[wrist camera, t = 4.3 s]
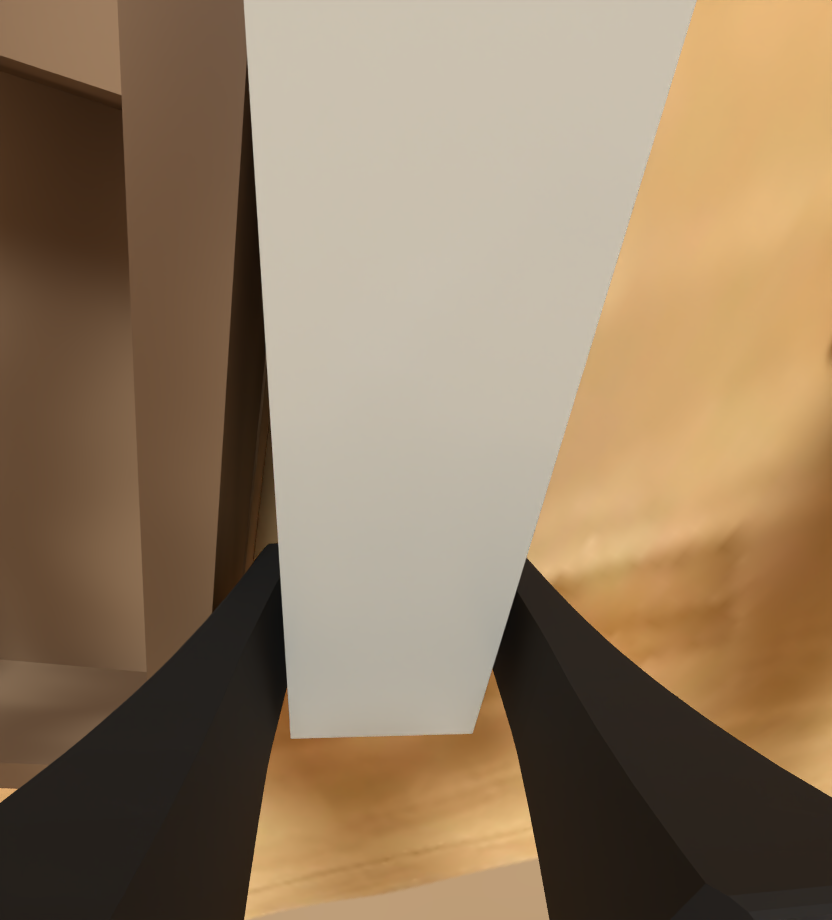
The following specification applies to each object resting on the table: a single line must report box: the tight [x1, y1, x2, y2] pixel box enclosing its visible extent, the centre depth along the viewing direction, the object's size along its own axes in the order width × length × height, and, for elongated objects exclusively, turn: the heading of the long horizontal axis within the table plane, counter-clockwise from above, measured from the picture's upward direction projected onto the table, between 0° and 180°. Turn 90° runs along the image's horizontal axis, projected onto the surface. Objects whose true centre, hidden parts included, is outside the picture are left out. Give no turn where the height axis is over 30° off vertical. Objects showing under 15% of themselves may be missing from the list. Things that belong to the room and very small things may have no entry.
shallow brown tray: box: [0, 0, 270, 789], centre depth 8 cm, size 8×16×4 cm, turn 165°
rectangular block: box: [244, 0, 697, 739], centre depth 8 cm, size 4×12×4 cm, turn 174°
